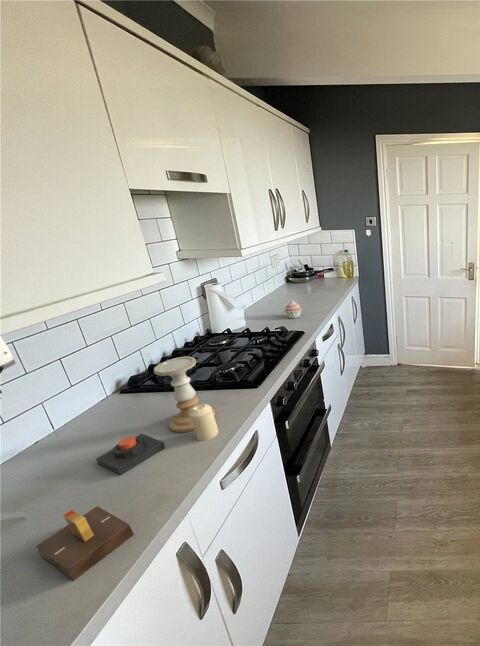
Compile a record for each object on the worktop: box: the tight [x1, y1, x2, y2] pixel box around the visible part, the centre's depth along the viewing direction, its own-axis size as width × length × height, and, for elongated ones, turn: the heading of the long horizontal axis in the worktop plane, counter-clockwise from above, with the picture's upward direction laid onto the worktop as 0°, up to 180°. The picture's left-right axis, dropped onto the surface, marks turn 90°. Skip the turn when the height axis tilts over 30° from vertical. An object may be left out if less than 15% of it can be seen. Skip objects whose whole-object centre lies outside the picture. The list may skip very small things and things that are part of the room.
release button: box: [117, 435, 137, 450], centre depth 94 cm, size 4×4×2 cm
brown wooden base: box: [35, 506, 135, 581], centre depth 71 cm, size 10×12×3 cm
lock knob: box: [63, 509, 94, 542], centre depth 69 cm, size 5×2×5 cm, turn 66°
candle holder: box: [153, 356, 216, 434], centre depth 106 cm, size 12×12×20 cm
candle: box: [189, 403, 219, 442], centre depth 101 cm, size 6×6×10 cm
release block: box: [95, 433, 166, 477], centre depth 95 cm, size 11×10×4 cm
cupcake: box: [284, 300, 303, 320], centre depth 198 cm, size 9×9×10 cm
